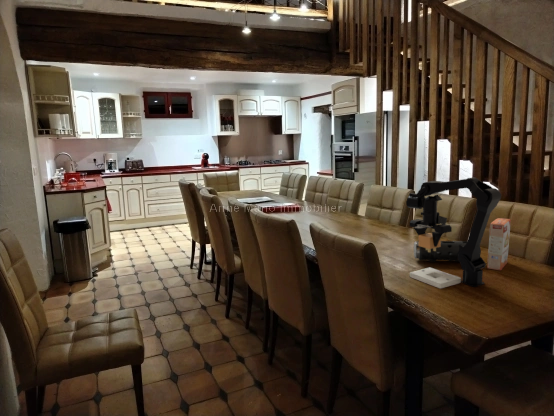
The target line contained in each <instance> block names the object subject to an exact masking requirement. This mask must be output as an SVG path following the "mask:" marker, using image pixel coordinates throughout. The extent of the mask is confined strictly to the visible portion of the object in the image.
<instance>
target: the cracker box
mask: <svg viewBox="0 0 554 416" xmlns="http://www.w3.org/2000/svg"><path fill="white" fill-rule="evenodd" d="M511 222H512V220H511V219H510V218H501V217H500V218H499V217H498V218H496V219H494V220H493V221H492V222H491V223H490V224H489V225H490V226H489V240H488V251H487V263H486V265H487V266H486V267H487V269H488V270H489V269H491V270H495V271H502V270H503V269H504V267H505V266H506V265H507V263H508V260H509V259H508V257H509V256H508V255H509V247H510V245H509V244H510V235H511V234H510V231H511V224H512V223H511Z"/></svg>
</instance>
